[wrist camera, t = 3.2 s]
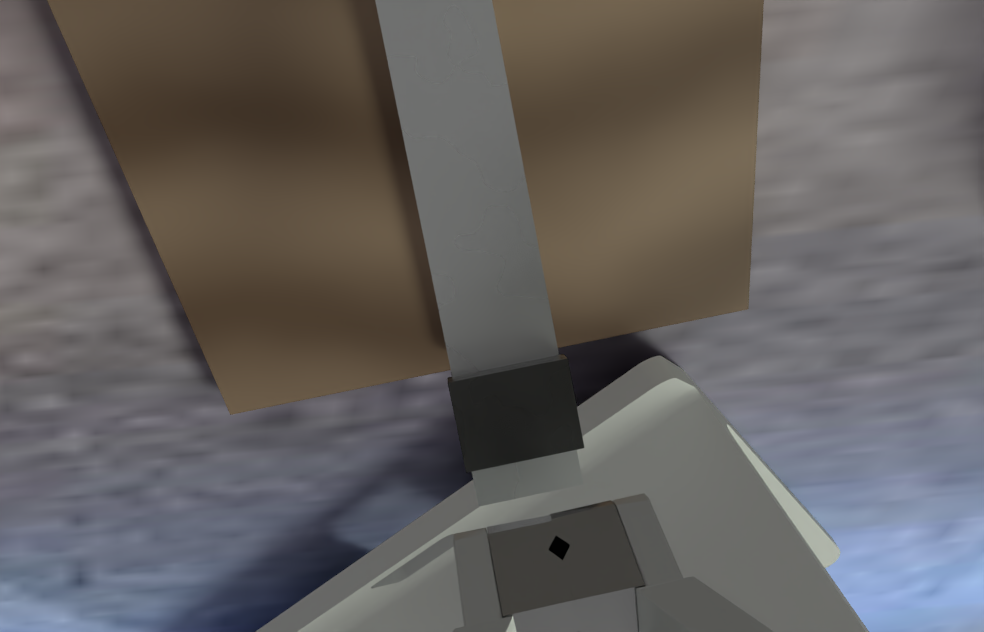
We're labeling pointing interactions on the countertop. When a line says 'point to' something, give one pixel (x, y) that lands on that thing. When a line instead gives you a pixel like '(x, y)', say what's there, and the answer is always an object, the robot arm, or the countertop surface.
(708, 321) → the countertop surface
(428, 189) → the upper tong arm
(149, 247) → the countertop surface
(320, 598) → the tablet stand
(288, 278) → the walnut board
